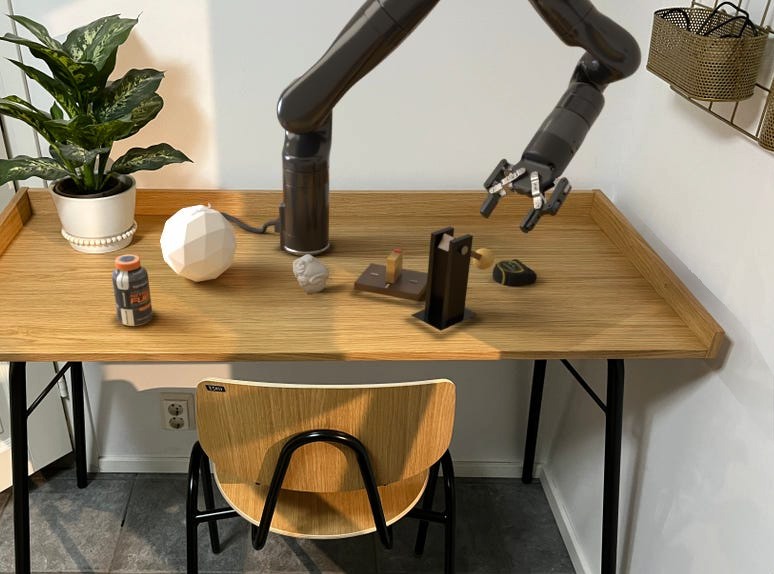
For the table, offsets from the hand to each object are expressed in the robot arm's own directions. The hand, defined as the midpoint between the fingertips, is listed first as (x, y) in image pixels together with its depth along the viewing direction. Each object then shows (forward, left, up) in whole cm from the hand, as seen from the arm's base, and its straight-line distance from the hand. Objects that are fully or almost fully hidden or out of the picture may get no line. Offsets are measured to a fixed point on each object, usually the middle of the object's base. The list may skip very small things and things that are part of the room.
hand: (502, 223), depth 130 cm
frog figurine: (-31, -10, -15) cm, 36 cm away
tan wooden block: (-17, -4, -12) cm, 21 cm away
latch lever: (-4, -8, -5) cm, 10 cm away
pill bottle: (-55, -31, -15) cm, 65 cm away
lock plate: (-17, -4, -14) cm, 23 cm away
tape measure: (+2, +8, -15) cm, 17 cm away
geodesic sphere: (-53, -12, -15) cm, 56 cm away
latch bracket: (-6, -11, -14) cm, 19 cm away
